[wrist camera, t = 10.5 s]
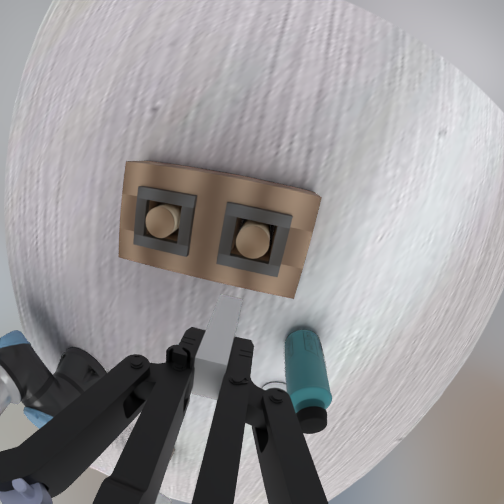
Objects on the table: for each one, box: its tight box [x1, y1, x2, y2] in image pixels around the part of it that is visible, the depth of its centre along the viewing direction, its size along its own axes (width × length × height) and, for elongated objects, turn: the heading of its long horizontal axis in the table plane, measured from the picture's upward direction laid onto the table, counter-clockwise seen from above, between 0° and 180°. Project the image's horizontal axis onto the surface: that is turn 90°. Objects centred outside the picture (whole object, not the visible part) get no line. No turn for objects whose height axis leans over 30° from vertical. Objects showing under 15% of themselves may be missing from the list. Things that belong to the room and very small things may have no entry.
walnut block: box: [119, 161, 322, 299], centre depth 37 cm, size 26×14×8 cm, turn 78°
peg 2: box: [236, 219, 271, 259], centre depth 36 cm, size 4×4×8 cm
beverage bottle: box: [284, 330, 332, 434], centre depth 37 cm, size 6×7×20 cm
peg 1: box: [146, 203, 182, 238], centre depth 36 cm, size 4×4×8 cm
